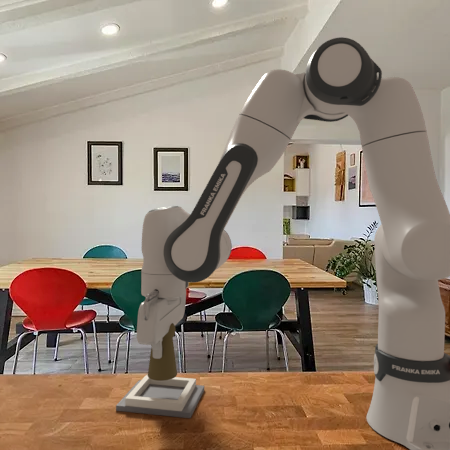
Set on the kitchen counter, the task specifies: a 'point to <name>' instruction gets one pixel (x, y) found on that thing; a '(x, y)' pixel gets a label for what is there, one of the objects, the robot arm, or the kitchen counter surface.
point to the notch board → (163, 397)
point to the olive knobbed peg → (164, 359)
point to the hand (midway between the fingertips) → (162, 352)
